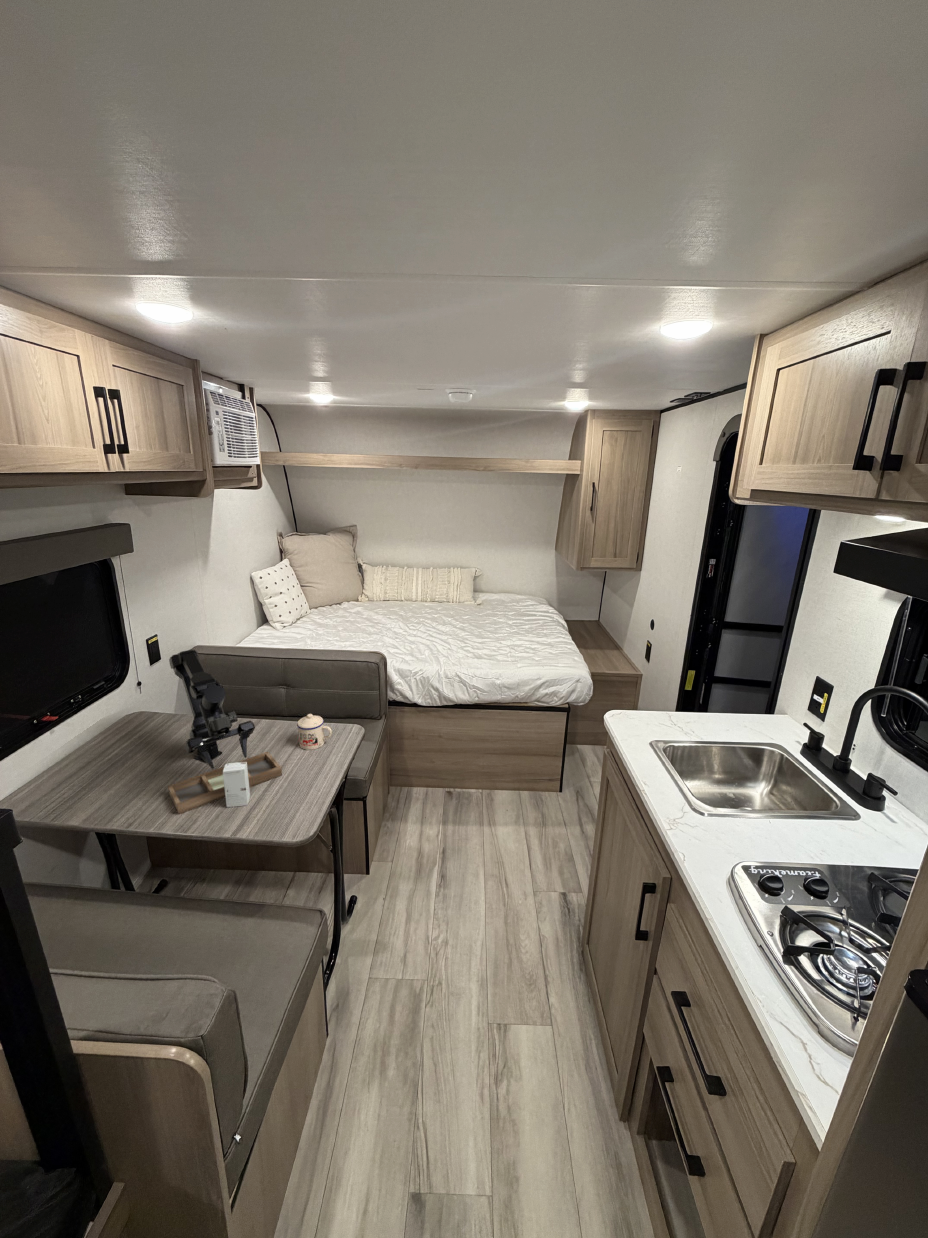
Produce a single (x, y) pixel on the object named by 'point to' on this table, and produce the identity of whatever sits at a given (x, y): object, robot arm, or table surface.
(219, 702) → the robot arm
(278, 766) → the three bay box
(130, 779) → the table surface
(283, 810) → the table surface
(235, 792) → the skincare box
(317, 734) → the teacup with lid
